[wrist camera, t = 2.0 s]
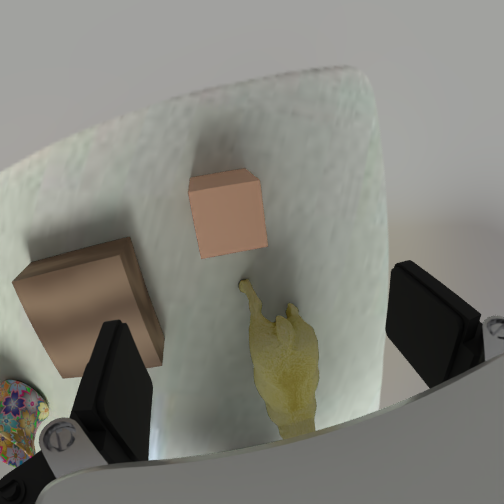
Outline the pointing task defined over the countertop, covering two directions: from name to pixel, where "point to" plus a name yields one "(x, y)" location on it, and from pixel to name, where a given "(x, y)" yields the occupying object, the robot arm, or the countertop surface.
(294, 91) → the countertop surface
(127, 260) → the walnut box
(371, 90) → the countertop surface
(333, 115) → the countertop surface
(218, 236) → the terracotta block
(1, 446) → the mug
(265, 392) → the toy
